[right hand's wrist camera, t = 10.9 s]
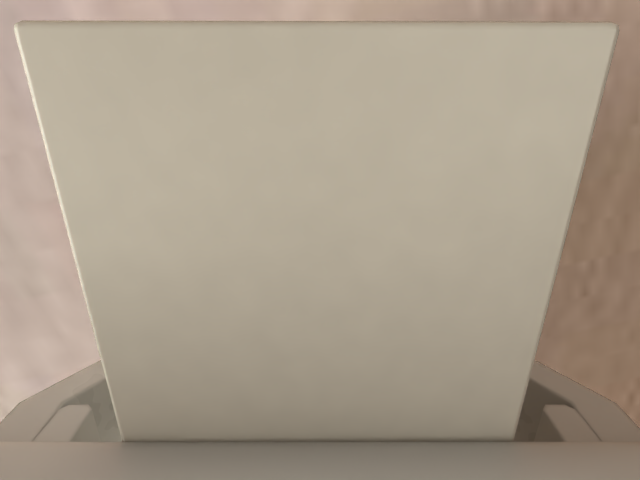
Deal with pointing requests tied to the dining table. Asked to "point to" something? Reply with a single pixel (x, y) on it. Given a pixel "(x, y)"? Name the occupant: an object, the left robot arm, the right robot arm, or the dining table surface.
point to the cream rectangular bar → (317, 216)
